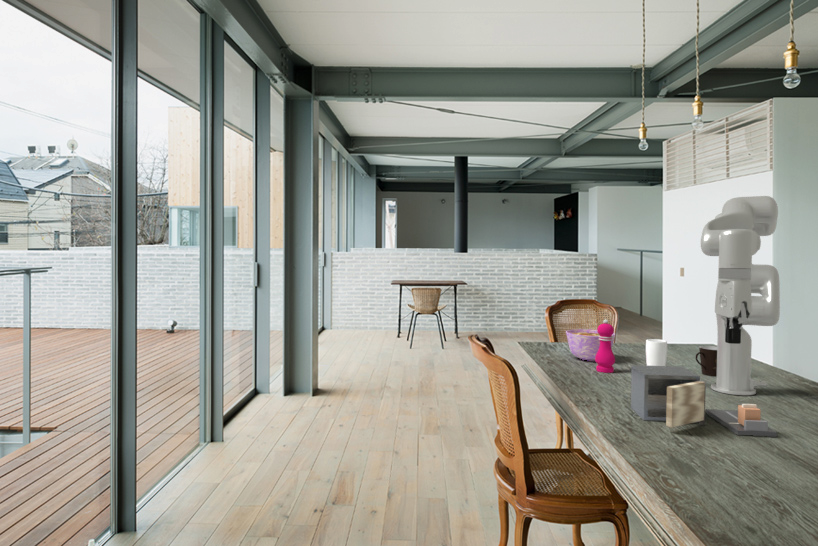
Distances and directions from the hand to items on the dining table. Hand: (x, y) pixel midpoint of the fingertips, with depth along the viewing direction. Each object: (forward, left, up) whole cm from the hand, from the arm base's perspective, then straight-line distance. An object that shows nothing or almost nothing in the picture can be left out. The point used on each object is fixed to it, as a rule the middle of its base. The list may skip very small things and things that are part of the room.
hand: (732, 342), depth 140 cm
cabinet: (+16, -3, -21) cm, 27 cm away
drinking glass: (+6, -40, -21) cm, 46 cm away
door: (+15, +8, -21) cm, 27 cm away
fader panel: (-1, +3, -21) cm, 21 cm away
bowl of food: (+20, -79, -21) cm, 84 cm away
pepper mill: (+19, -57, -21) cm, 64 cm away
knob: (-1, +8, -19) cm, 21 cm away
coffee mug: (-18, -57, -21) cm, 63 cm away
